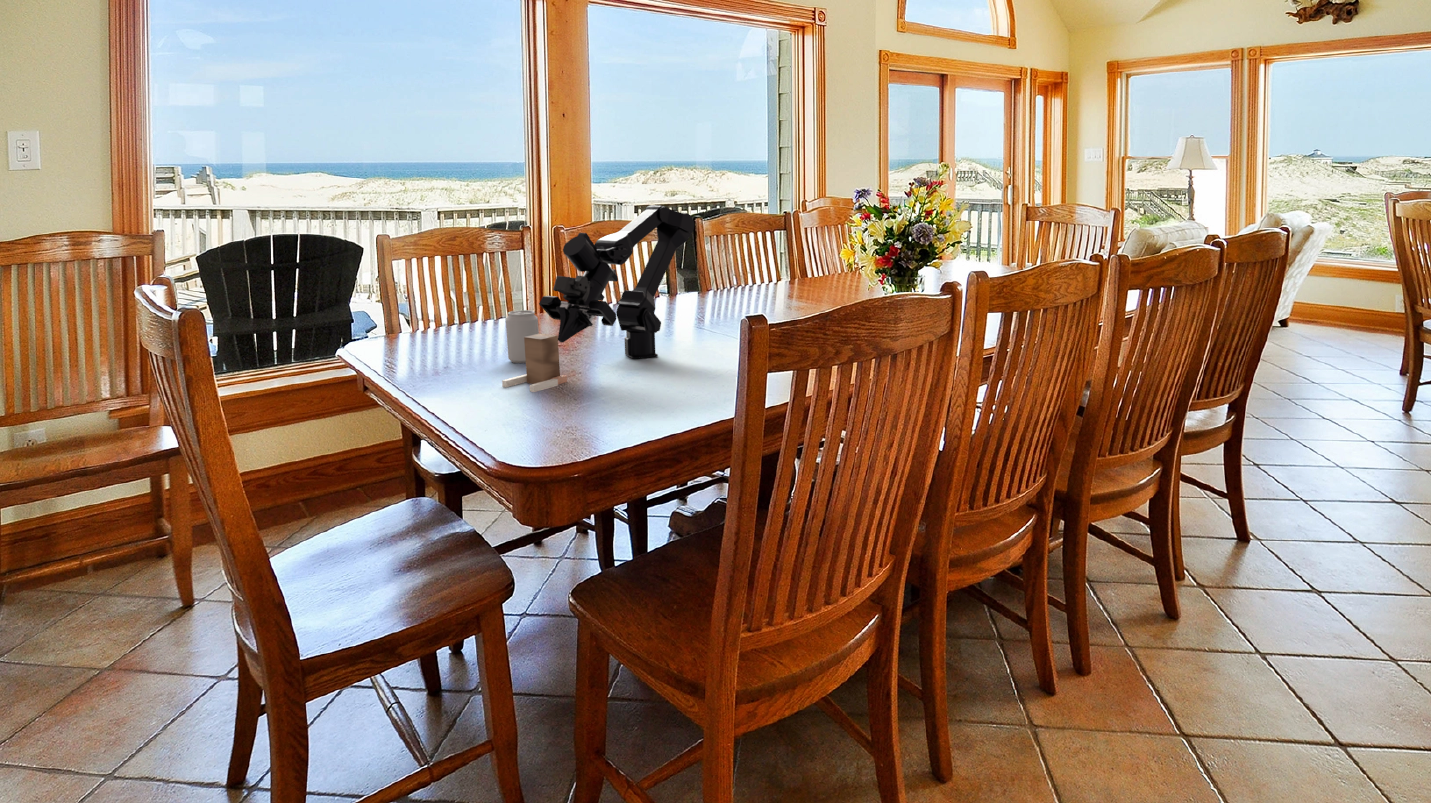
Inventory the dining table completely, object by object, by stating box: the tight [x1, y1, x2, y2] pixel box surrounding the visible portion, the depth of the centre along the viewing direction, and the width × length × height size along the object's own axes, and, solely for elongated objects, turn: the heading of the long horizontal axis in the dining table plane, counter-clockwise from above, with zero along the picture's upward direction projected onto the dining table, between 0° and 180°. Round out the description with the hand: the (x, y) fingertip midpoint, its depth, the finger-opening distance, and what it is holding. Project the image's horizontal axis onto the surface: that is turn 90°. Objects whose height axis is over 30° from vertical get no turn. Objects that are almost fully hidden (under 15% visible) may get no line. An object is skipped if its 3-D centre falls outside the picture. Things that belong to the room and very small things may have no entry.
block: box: [524, 333, 561, 385], centre depth 205 cm, size 5×5×10 cm
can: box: [505, 309, 540, 364], centre depth 227 cm, size 8×8×12 cm
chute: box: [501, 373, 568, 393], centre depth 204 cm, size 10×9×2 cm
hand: (560, 341), depth 209 cm, fingers closed
